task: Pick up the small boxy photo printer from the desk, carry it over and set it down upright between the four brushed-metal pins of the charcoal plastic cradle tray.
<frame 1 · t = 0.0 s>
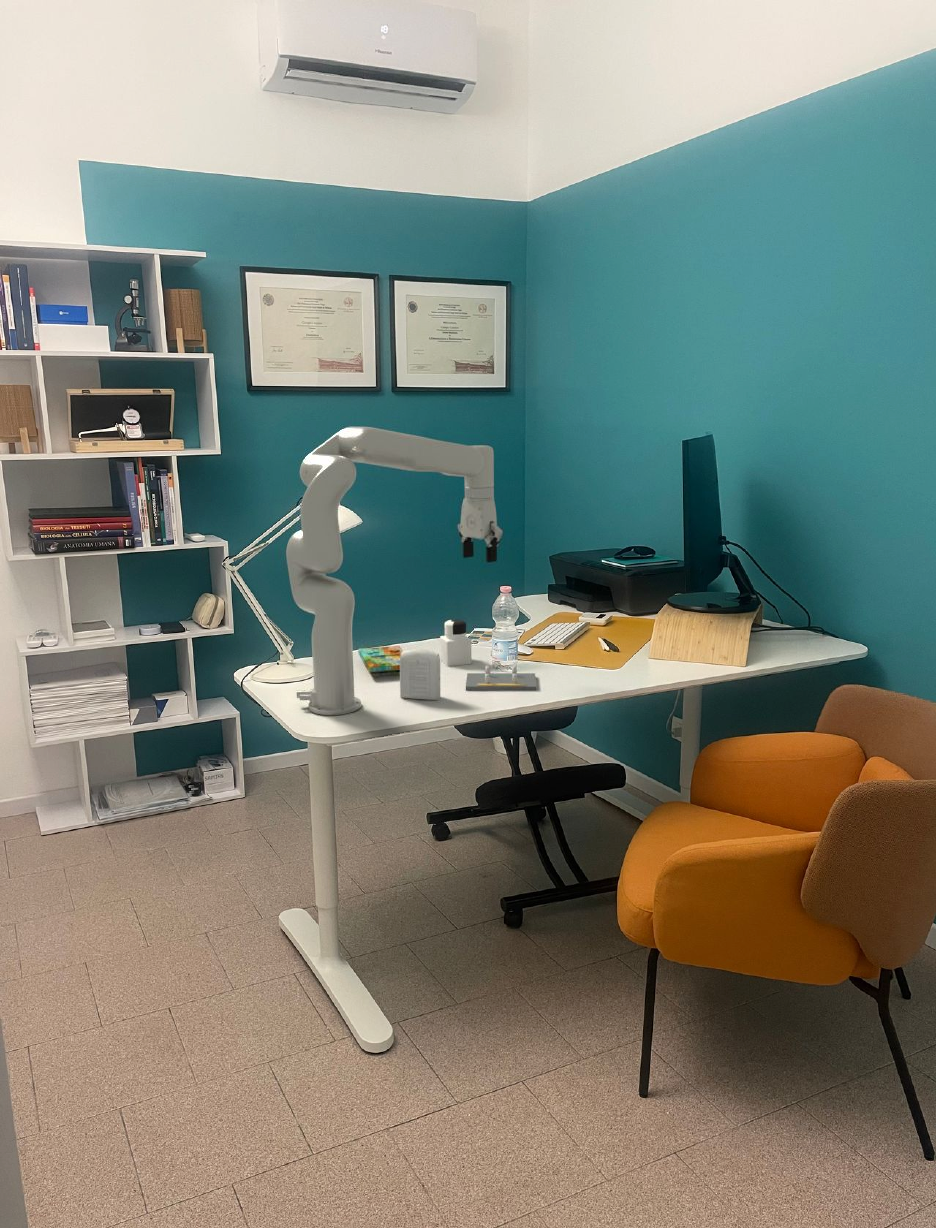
hand: (479, 559, 247), 31 cm above the table, tool pointing down, fingers open, 9 cm apart
medicine bottle: (455, 662, 265), on the table
pin tray: (501, 683, 245), on the table
puzzle game: (385, 670, 260), on the table
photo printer: (420, 698, 234), on the table
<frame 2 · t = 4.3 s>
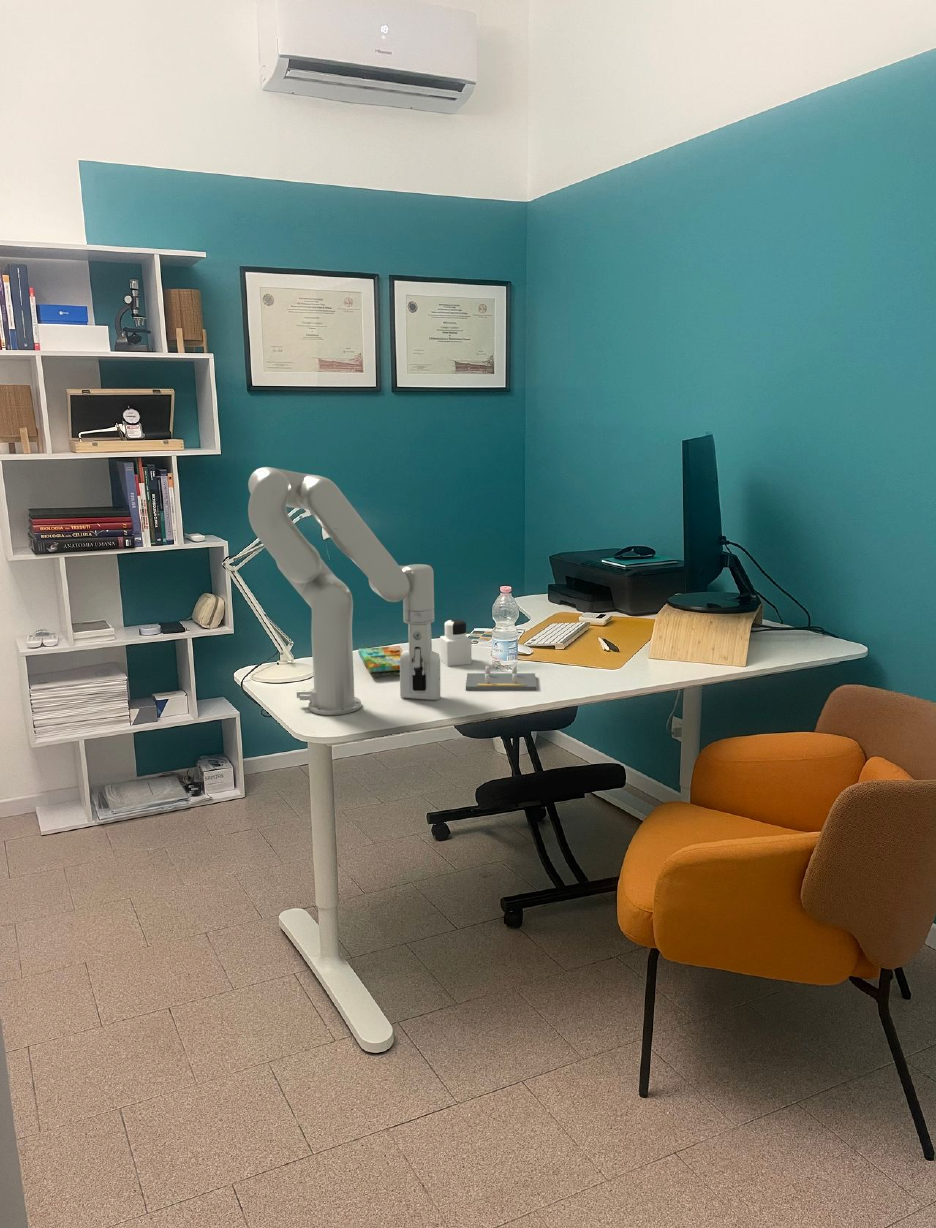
hand: (420, 686, 233), 3 cm above the table, tool pointing down, fingers closed on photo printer, 4 cm apart
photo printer: (420, 698, 234), on the table, touching gripper
everything else where it was.
when the fingers open (5 cm above the table, at t = 10.5 s): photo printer drops 1 cm, resting on pin tray.
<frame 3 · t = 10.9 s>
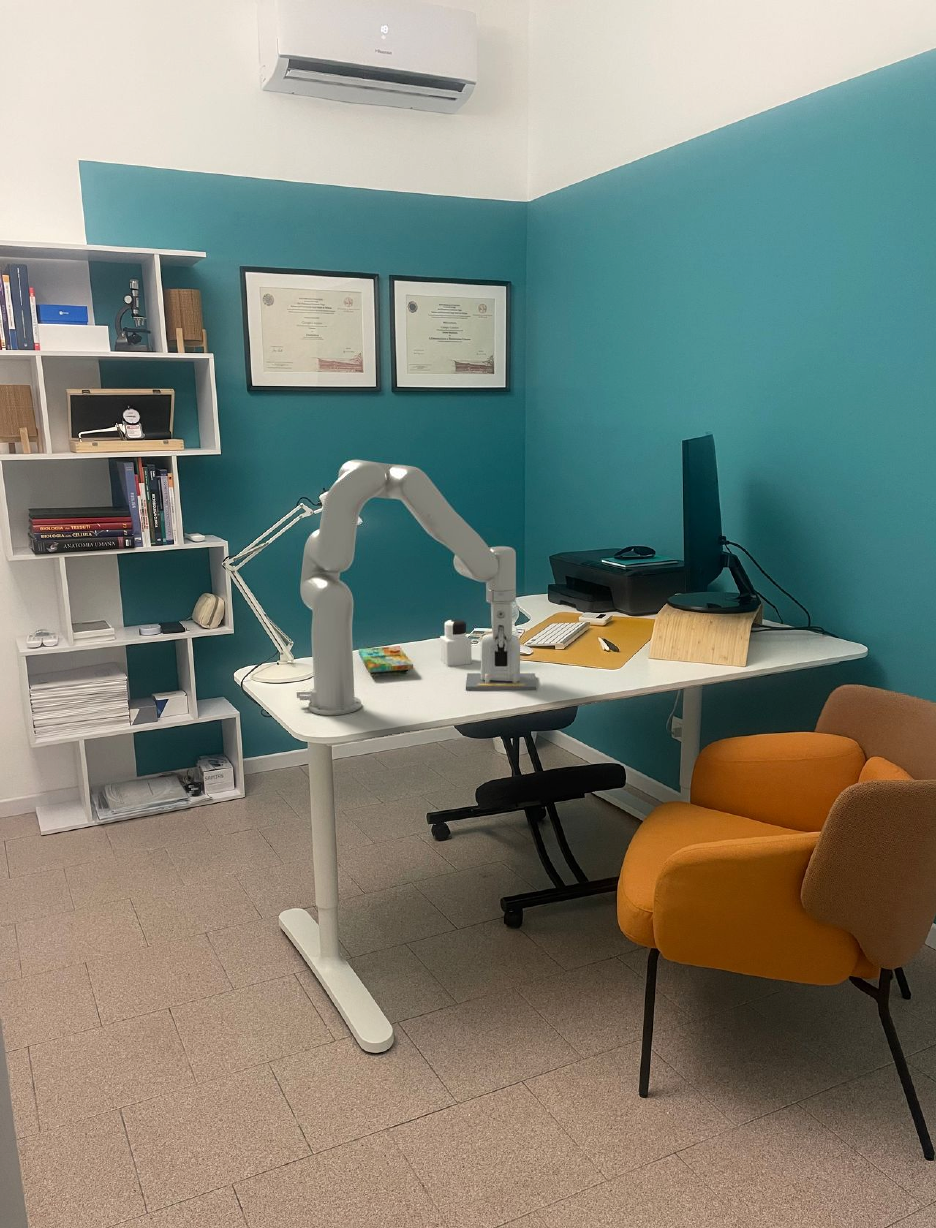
hand: (501, 661, 243), 6 cm above the table, tool pointing down, fingers open, 8 cm apart
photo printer: (500, 680, 244), point 1 cm above the table, touching pin tray
everything else where it was.
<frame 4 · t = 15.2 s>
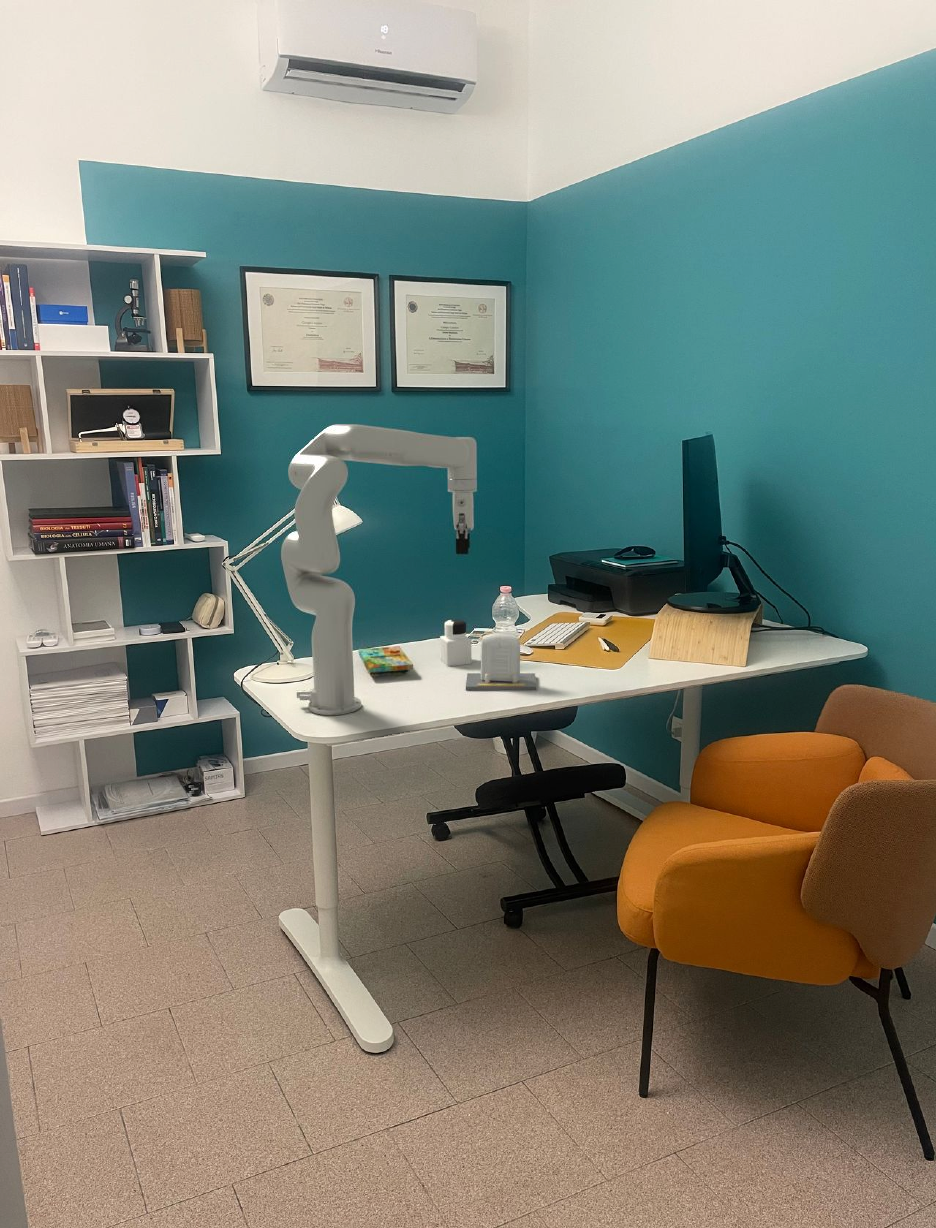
hand: (462, 551, 247), 33 cm above the table, tool pointing down, fingers open, 9 cm apart
nothing on the table moved.
at the end: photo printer 0.2 cm off-centre on the pin tray, point 0.8 cm above the pin tray's base; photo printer tilted 0°; the gripper is holding nothing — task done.
